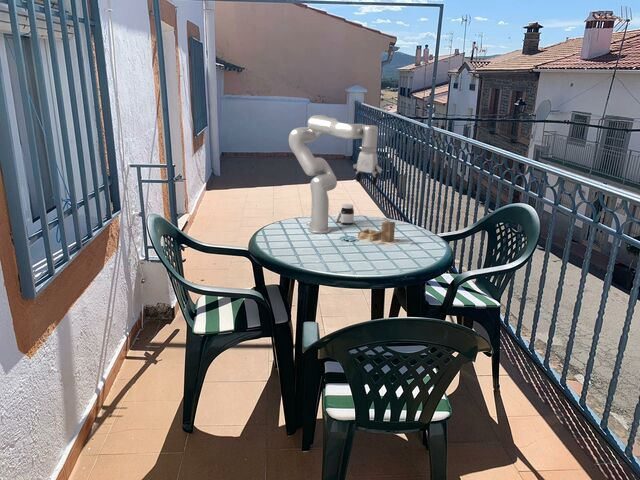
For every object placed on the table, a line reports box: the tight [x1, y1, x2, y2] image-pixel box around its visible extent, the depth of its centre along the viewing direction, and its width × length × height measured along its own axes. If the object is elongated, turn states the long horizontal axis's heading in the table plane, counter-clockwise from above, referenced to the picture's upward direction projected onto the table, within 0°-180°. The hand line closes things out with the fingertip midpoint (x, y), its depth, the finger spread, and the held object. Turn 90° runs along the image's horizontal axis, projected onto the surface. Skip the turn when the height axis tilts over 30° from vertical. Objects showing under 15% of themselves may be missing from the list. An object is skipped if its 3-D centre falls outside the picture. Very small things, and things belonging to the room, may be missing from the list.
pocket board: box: [354, 228, 404, 247], centre depth 269 cm, size 22×14×4 cm, turn 52°
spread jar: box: [334, 203, 355, 226], centre depth 303 cm, size 12×11×12 cm
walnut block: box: [380, 220, 396, 243], centre depth 264 cm, size 5×5×10 cm
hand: (366, 182), depth 263 cm, fingers open, 9 cm apart
